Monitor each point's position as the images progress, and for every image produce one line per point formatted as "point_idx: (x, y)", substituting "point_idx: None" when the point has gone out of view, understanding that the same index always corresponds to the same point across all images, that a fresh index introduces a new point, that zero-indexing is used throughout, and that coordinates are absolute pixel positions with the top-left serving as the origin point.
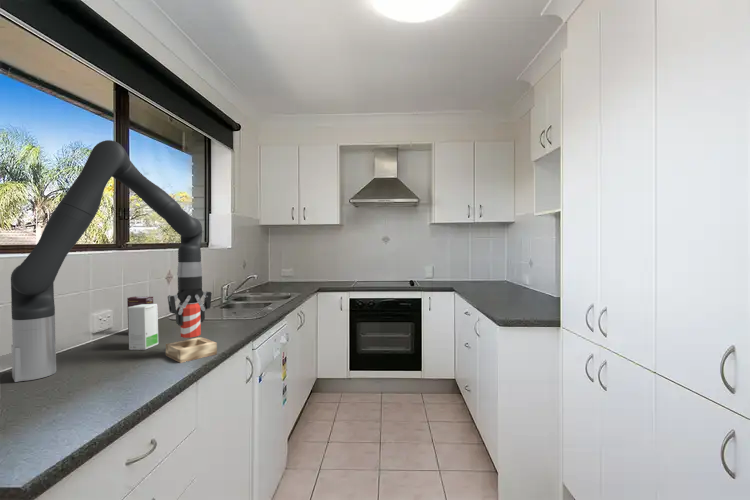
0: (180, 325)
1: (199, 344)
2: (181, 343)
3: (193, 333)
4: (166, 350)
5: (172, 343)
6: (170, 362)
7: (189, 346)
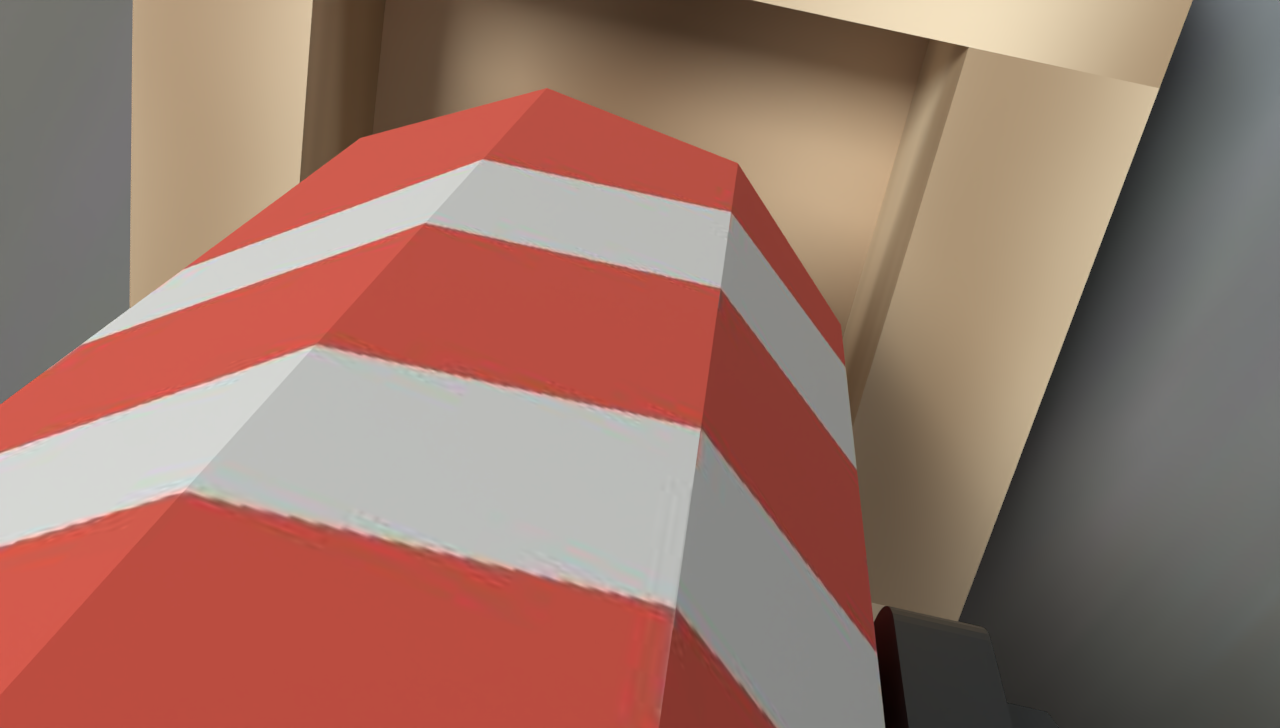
0: (971, 628)
1: None
2: None
3: (621, 153)
4: None
5: None
6: (1179, 125)
7: None
